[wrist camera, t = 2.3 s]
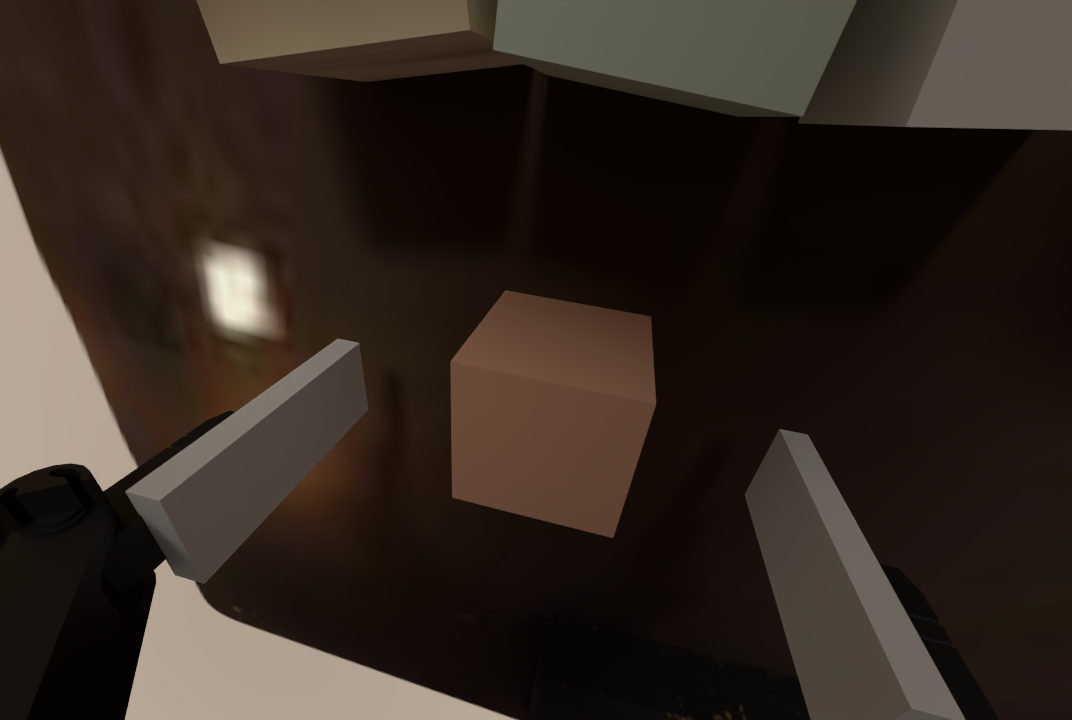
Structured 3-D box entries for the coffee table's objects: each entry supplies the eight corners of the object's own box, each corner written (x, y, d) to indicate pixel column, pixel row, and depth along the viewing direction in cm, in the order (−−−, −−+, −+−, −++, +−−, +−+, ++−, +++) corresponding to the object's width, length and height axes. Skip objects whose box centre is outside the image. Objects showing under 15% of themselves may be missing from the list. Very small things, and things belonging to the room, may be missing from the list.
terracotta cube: (505, 289, 14) (450, 361, 10) (650, 315, 14) (656, 403, 9) (498, 403, 17) (452, 497, 13) (619, 429, 16) (613, 538, 12)
